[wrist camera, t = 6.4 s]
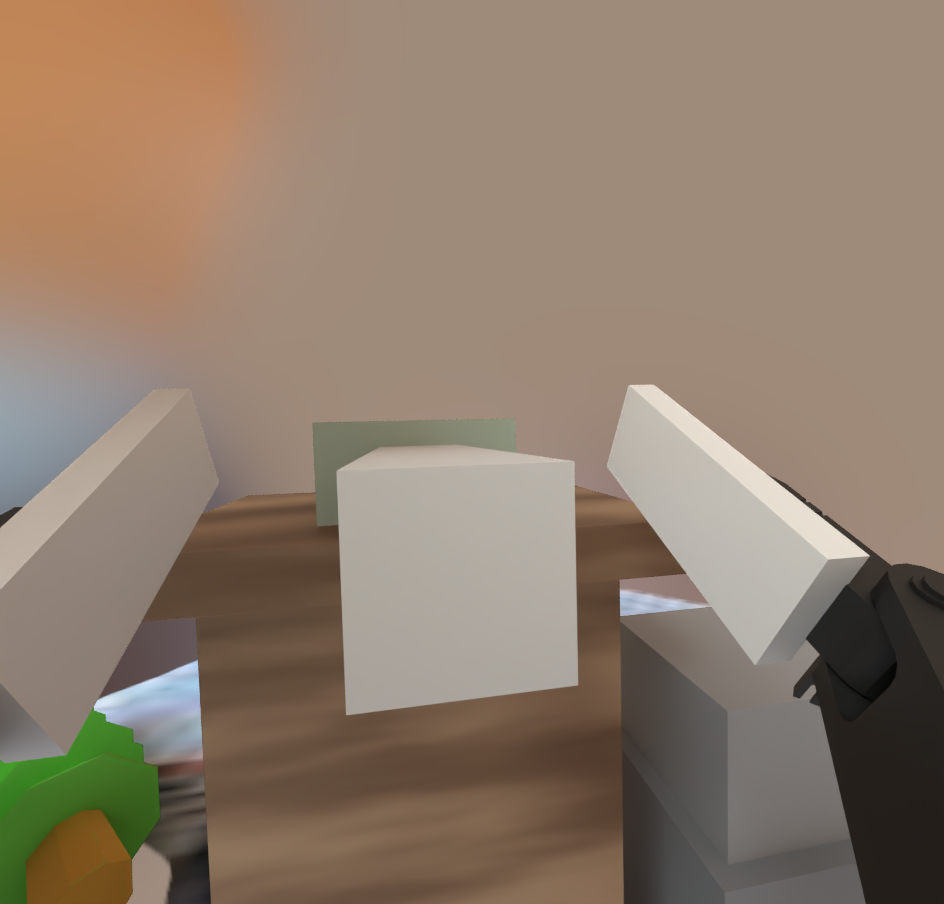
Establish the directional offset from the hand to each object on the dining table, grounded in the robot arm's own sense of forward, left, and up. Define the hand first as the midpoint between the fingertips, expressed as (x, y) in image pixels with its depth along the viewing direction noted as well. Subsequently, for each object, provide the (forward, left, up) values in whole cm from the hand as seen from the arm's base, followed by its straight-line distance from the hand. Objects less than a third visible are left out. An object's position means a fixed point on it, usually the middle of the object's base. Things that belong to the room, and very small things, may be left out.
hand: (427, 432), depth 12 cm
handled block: (-1, +3, -3) cm, 5 cm away
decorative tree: (-38, +17, -34) cm, 53 cm away
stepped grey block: (+14, +15, -33) cm, 39 cm away
